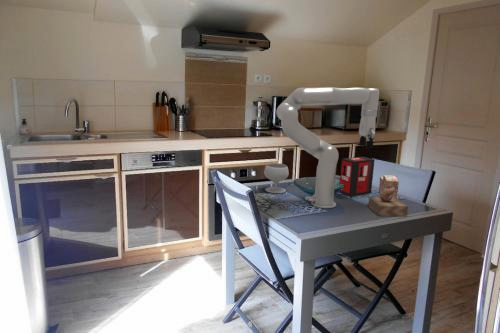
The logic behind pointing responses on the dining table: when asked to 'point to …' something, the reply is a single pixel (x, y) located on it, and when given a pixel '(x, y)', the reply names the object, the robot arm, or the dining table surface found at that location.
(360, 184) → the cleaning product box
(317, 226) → the dining table surface
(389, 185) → the stack of blocks
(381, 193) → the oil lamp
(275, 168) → the chalice
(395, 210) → the walnut base block
